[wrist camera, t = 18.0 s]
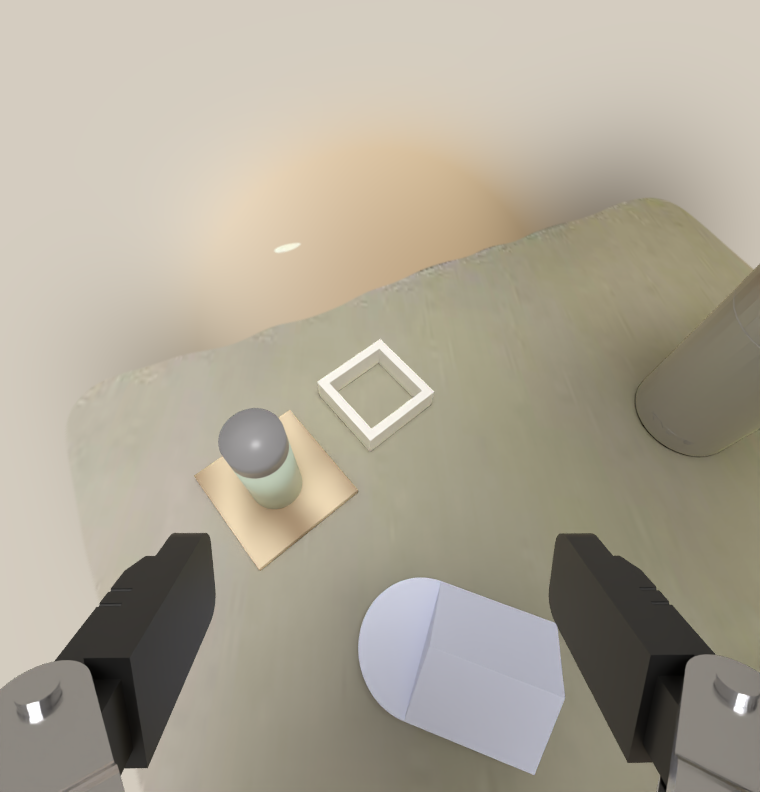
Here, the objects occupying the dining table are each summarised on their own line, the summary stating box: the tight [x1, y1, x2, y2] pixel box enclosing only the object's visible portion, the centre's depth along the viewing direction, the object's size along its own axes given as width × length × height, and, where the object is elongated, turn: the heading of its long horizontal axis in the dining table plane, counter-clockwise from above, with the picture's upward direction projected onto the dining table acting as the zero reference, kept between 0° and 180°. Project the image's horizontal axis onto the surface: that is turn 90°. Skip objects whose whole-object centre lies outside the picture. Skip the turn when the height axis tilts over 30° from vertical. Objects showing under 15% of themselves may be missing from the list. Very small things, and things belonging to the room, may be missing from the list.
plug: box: [218, 408, 302, 509], centre depth 36 cm, size 4×4×10 cm
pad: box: [194, 410, 358, 571], centre depth 41 cm, size 10×10×1 cm
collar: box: [317, 339, 434, 452], centre depth 45 cm, size 8×8×2 cm
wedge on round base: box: [358, 578, 565, 775], centre depth 33 cm, size 9×7×13 cm
